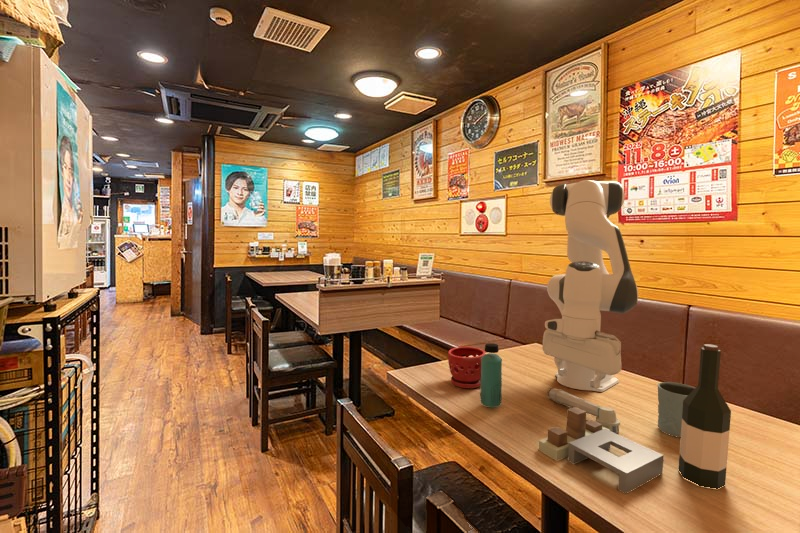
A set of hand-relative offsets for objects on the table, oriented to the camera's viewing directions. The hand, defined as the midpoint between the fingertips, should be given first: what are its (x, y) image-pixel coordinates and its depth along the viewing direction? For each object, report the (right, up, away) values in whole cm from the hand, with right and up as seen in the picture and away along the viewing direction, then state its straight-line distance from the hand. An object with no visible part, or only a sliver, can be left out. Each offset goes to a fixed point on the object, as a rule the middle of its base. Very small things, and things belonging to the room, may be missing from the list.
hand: (577, 381), depth 102 cm
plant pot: (-21, -13, +42) cm, 49 cm away
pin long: (0, -17, +2) cm, 17 cm away
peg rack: (0, -17, +2) cm, 17 cm away
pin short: (+6, -16, +5) cm, 18 cm away
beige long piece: (+9, -16, +19) cm, 26 cm away
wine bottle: (+22, -18, -12) cm, 31 cm away
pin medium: (-6, -17, -2) cm, 18 cm away
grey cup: (+31, -16, +9) cm, 36 cm away
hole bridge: (+5, -18, -8) cm, 20 cm away
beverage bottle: (-17, -15, +23) cm, 32 cm away
